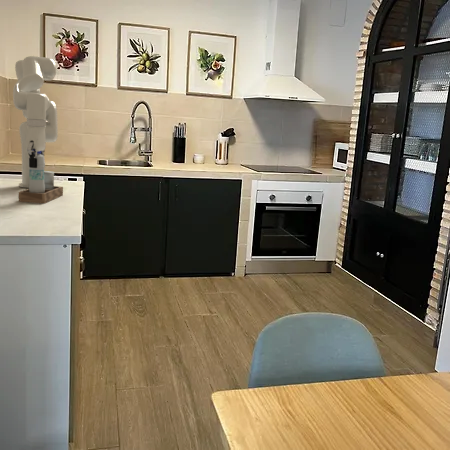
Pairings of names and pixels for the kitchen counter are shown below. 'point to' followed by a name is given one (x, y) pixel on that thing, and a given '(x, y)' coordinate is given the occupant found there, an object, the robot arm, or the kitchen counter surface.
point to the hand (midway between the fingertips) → (36, 166)
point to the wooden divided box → (48, 195)
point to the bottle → (37, 175)
